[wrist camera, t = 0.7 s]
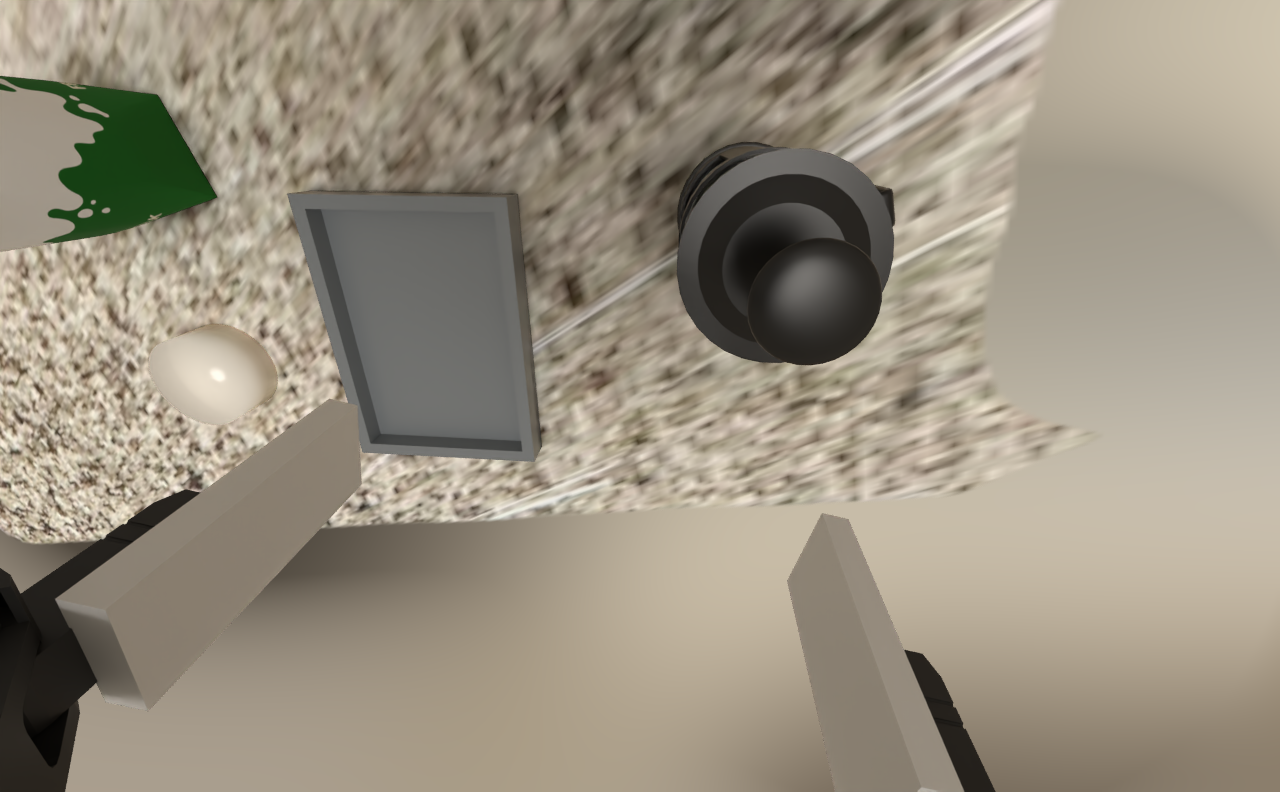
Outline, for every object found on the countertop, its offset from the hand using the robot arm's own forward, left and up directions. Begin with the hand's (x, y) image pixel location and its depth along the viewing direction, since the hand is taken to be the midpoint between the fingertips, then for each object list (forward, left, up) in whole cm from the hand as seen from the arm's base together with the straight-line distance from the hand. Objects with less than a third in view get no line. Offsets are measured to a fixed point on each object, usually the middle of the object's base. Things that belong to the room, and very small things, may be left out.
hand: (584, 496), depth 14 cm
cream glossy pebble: (+10, -38, -28) cm, 48 cm away
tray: (+6, -18, -28) cm, 33 cm away
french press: (-4, +7, -28) cm, 29 cm away
